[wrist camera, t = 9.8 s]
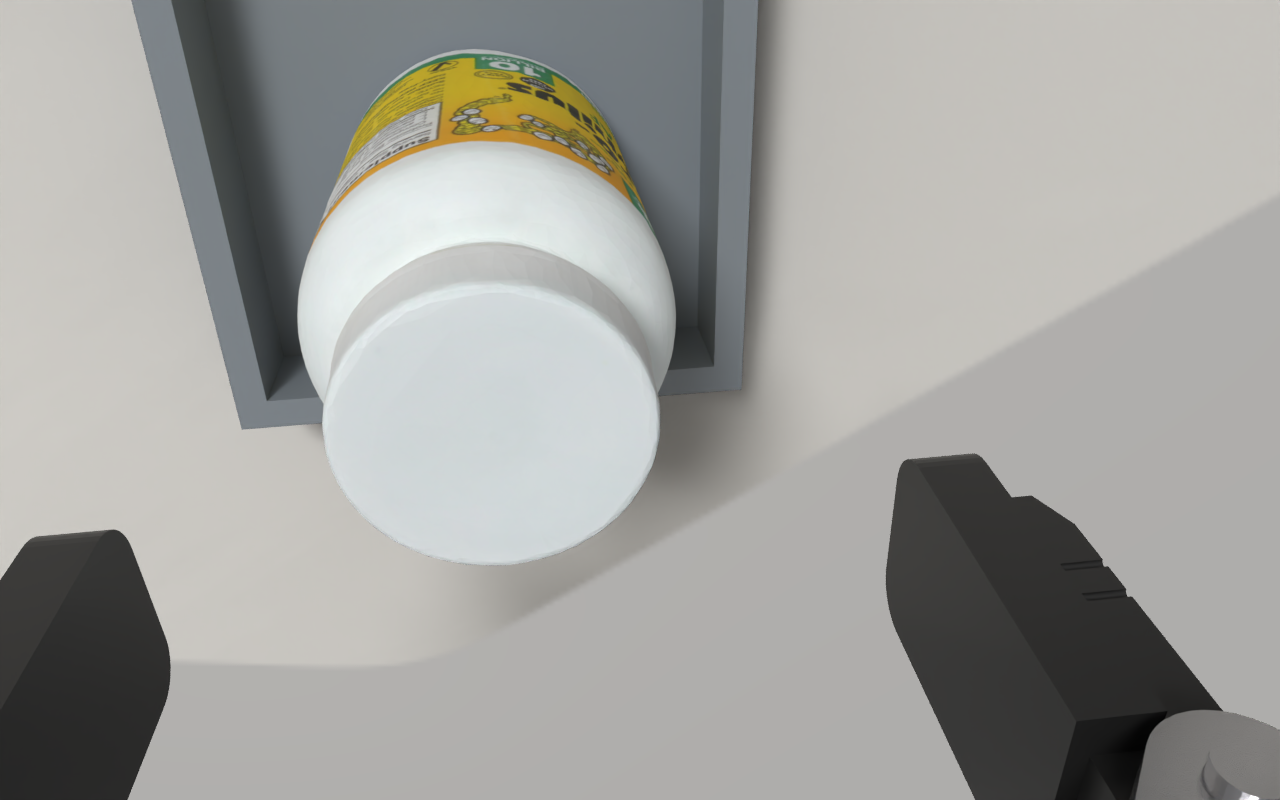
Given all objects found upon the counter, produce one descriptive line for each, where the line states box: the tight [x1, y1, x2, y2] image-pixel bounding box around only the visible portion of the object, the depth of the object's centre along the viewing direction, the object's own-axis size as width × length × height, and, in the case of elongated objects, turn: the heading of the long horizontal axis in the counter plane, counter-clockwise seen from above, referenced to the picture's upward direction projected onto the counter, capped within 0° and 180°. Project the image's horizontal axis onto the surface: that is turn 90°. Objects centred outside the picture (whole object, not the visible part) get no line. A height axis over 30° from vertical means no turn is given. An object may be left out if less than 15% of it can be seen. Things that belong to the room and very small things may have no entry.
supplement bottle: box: [297, 49, 676, 566], centre depth 16 cm, size 5×5×10 cm
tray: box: [131, 0, 758, 429], centre depth 18 cm, size 10×15×2 cm
